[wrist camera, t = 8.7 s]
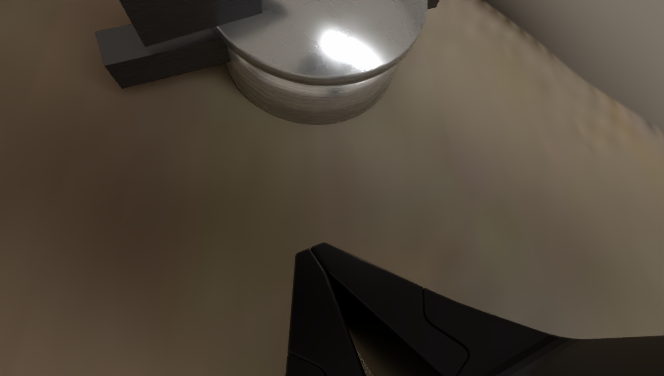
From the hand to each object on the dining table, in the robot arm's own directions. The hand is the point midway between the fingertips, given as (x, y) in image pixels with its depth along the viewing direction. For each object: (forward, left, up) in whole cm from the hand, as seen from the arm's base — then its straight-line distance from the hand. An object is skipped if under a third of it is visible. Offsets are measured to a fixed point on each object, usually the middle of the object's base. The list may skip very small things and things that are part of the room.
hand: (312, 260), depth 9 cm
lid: (+9, -15, -8) cm, 20 cm away
